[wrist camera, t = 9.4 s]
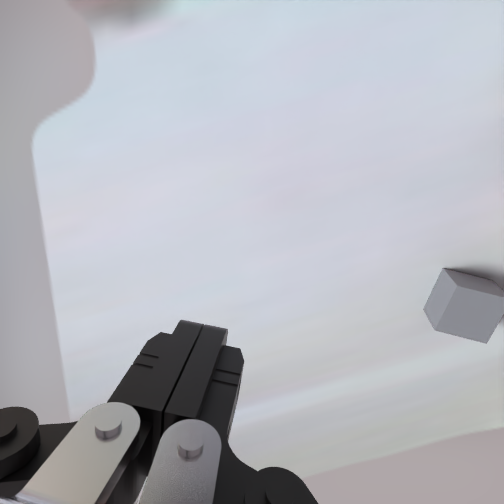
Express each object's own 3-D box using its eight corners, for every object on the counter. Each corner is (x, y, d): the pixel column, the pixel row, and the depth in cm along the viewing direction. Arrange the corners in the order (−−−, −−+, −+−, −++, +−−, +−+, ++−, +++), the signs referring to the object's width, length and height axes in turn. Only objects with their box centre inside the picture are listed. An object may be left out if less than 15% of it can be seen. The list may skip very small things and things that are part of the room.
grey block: (442, 267, 37) (457, 285, 34) (491, 279, 37) (512, 299, 33) (422, 308, 39) (434, 330, 36) (469, 320, 39) (486, 343, 35)
